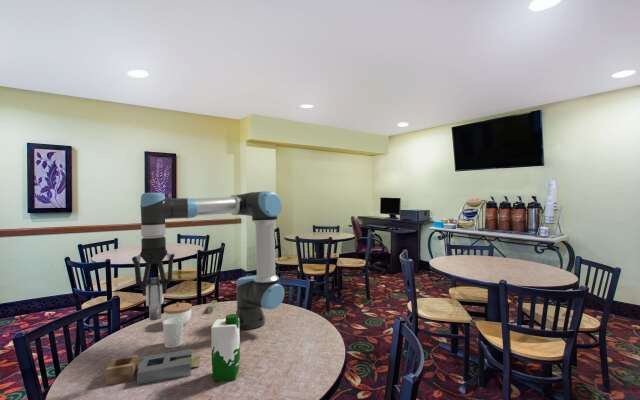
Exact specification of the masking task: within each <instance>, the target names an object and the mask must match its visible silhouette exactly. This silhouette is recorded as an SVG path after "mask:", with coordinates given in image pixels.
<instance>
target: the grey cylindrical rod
mask: <svg viewBox="0 0 640 400" xmlns="http://www.w3.org/2000/svg"><path fill="white" fill-rule="evenodd" d="M160 284H161V283H160V278H159V277H150V278H149V284H148V285H149V306H148V311H149V316H148V317H149V318H148V319H149V321H158V320H160V319H161V318H162V304H160Z"/></svg>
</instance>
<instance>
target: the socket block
mask: <svg viewBox="0 0 640 400" xmlns="http://www.w3.org/2000/svg"><path fill="white" fill-rule="evenodd" d="M192 356H193V349H192V348H189V349H182V350H178V351H177V350H176V351H171V352H163V353H158V354H151V355H145V356H144V357H143V358H142V362H141V363H140V366H139V367H138V370H137V373H136V378H137V380H136V381H137V384H136V385H137V386H141V385H146V384H151V383H156V382H162V381H168V380H173V379H174V380H175V379H180V378H182V377H189V376H191V372H192V367H191V358H186V357H192ZM180 358H186V359H181V360H176V359H180Z"/></svg>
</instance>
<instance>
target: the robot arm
mask: <svg viewBox="0 0 640 400" xmlns="http://www.w3.org/2000/svg"><path fill="white" fill-rule="evenodd" d="M139 206H140V223H141V224H140V233H141V237H142V239H140V241H141V243H140V244H141V251H140V253H139V254H138V255H135V256H133V257H131V260H132V263H133V265H134V266H133V267H134V273H135V285H136V286H139V287H141V288H142V290H141V291H142V296H143V297H145V306H146V307H149V284H148V281H149V275H150V271H151V270H150V269H151V265H152V264H155V265H157V267H158V272H159V275H160V280H161V283H160V304H161V305H163V304H164V294H166V293H167V286H168V285H167V284H168V283H171V282H172V280H173V268H174V267H173V265H174V258H175V257H176V254H175V253H171V252H168V250H167V246H166V244H167V241H166V237H165V235H166V220H172V219H190V218H191V219H192V218H196V217H197V216H199V217H200V216H208V215H212V216H213V215H225V214H231V215H232V216H249V217H251V222H253V223H254V225H255V252H256V253H255V254H256V255H255V256H256V257H255V258H256V274H255V275H247V276H243V277H239V278H238V279H237V280H236V312H235V314H237V315H238V318H239V330H252V329H256V328H260V327H262V326H264V325H265V323H266V317H265V314H264V311H263V309H265V310H270V311H272V310H275V309H277V308H278V307H279V306H280V305H281V304H282V302H283V301H284V298H285V289H284V287H283V285H281V284H280V278H279V276H278V275H277V274H276V246H275V245H276V243H275V223H276V222H277V220H278V215H280V214H281V212H282V208H283V203H282V200H281V198H280V196H279V195H278V194H277V193H276V192H273V191H269V190H263V191H251V192H247V193H239V194H233V195H230V196H228V197H202V198H201V197H198V198H195V197H194V198H189V197H184V198H183V197H182V198H179V197H178V198H168V197H167V198H166V196H165V193H163V192H145V193H142V194H141V195H140V205H139ZM166 257H167V259H168V266H167V267H168V268H167V277H166V273H165V268H164V264H163V263H164V262H163V260H164V258H166ZM141 259H143V261H144V262H145V266H144V273H143V277H142V274H141V273H142V272H141V263H140V261H141ZM142 278H143V279H142Z"/></svg>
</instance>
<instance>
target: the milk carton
mask: <svg viewBox="0 0 640 400" xmlns="http://www.w3.org/2000/svg"><path fill="white" fill-rule="evenodd" d="M210 332H211V335H210V336H211V337H210V339H211V341H210V342H211V343H210V344H211V369H212V370H211V372H212V380H213V382H222V381H224V382H225V381H227V382H228V381H236V379H237V375H238V373H239V370H240V363H241V362H240V361H241V360H240V359H241V353H240V352H241V351H240V350H241V345H240V344H241V342H240V341H241V340H240V336H241V335H240V329H239V318H238V315H237V314H236V313H232V314H230V313H229V314H227V315H226V316H225V318H222V319H221V318H220V319H216V320H215V321H214V323H213V324H212V326H211V328H210Z"/></svg>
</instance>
